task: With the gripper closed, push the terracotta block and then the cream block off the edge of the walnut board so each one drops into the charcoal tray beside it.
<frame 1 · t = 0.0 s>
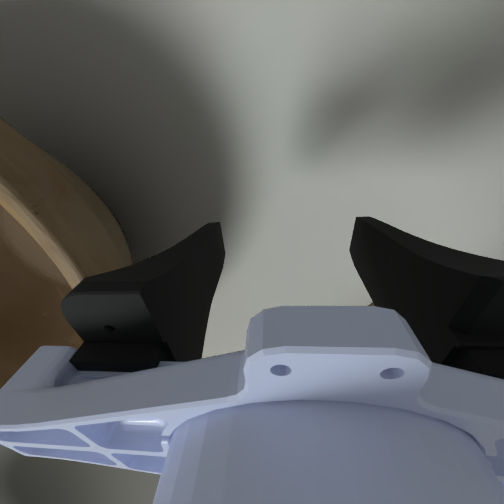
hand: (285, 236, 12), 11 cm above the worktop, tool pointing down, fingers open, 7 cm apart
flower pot: (67, 236, 26), on the worktop
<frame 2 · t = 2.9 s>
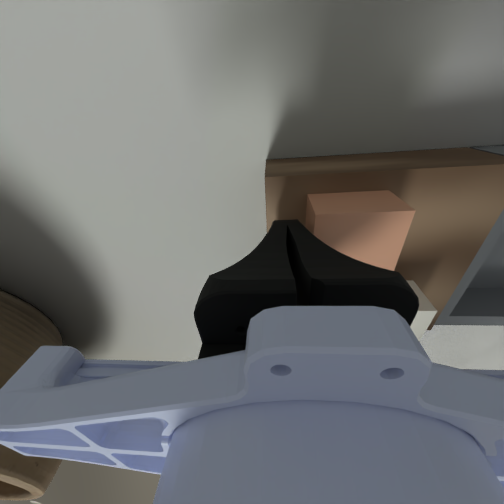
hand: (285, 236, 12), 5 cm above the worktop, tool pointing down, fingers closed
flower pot: (6, 321, 27), on the worktop
terracotta block: (341, 227, 12), point 4 cm above the worktop, touching gripper, walnut board
walnut board: (346, 236, 17), on the worktop
cream block: (373, 302, 15), point 4 cm above the worktop, touching walnut board
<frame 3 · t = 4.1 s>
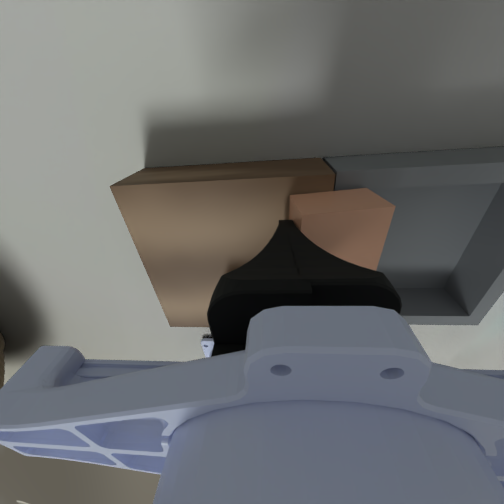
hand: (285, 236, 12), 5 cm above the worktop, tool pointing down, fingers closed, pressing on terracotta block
terracotta block: (324, 226, 13), point 4 cm above the worktop, tilted 8°, touching gripper, walnut board
walnut board: (238, 239, 18), on the worktop
charcoal tray: (395, 235, 17), on the worktop
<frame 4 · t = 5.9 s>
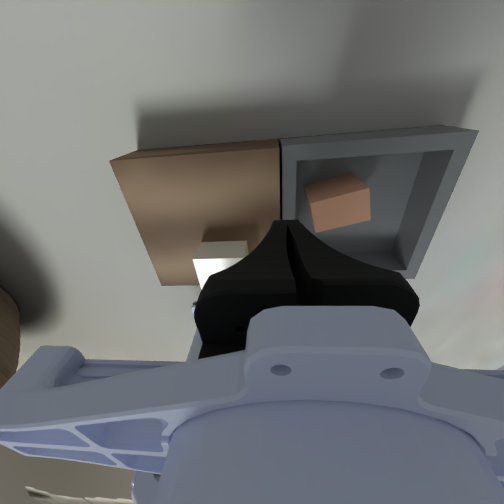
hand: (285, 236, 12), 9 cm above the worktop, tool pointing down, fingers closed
terracotta block: (332, 186, 17), point 2 cm above the worktop, tilted 90°, touching charcoal tray
walnut board: (217, 211, 22), on the worktop
charcoal tray: (346, 205, 20), on the worktop
cream block: (227, 260, 20), point 4 cm above the worktop, touching walnut board
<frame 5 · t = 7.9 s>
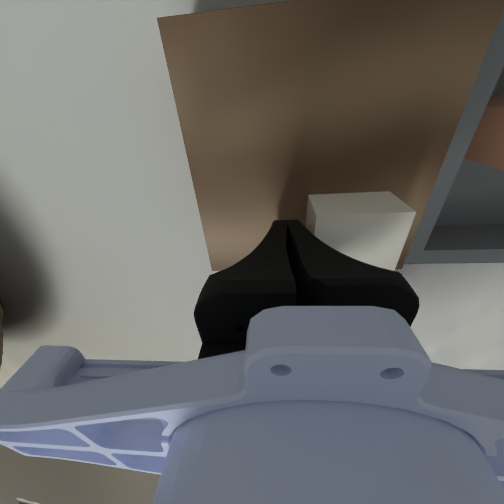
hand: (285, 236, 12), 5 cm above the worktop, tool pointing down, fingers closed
walnut board: (300, 158, 14), on the worktop
cream block: (341, 227, 12), point 4 cm above the worktop, touching gripper, walnut board
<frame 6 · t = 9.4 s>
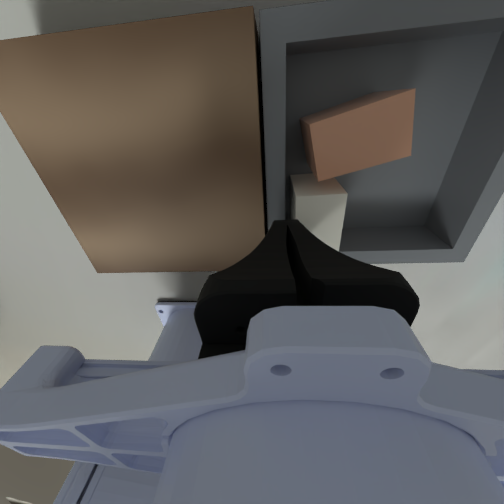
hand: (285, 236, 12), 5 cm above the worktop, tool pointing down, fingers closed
terracotta block: (345, 106, 10), point 2 cm above the worktop, tilted 90°, touching charcoal tray
walnut board: (175, 166, 15), on the worktop
charcoal tray: (362, 153, 14), on the worktop
cream block: (292, 216, 14), point 2 cm above the worktop, tilted 90°, touching charcoal tray
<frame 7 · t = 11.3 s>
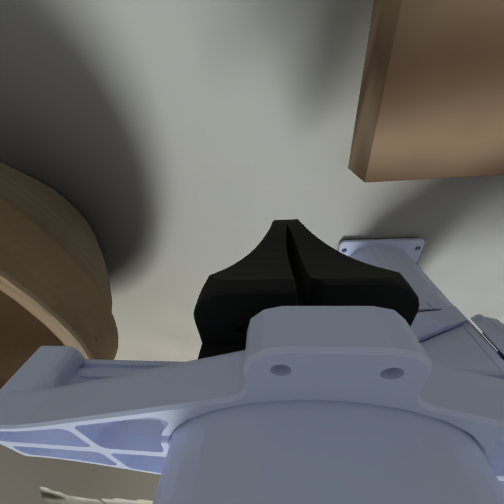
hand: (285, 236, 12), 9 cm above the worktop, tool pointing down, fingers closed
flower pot: (40, 232, 25), on the worktop
walnut board: (456, 68, 15), on the worktop
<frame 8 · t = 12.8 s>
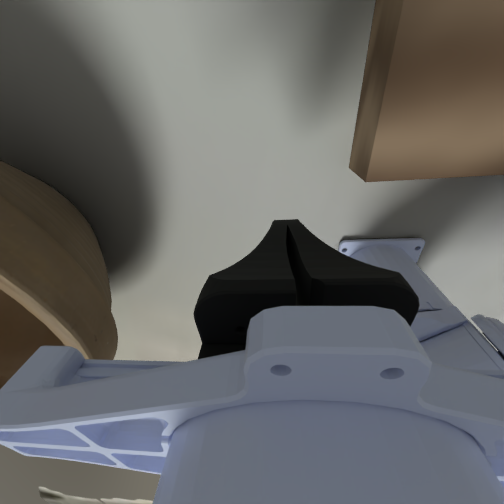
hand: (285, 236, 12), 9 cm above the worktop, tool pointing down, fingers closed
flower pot: (39, 231, 25), on the worktop
walnut board: (457, 68, 15), on the worktop
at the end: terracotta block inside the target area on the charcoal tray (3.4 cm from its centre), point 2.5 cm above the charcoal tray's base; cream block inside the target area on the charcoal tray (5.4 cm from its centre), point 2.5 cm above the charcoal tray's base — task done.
